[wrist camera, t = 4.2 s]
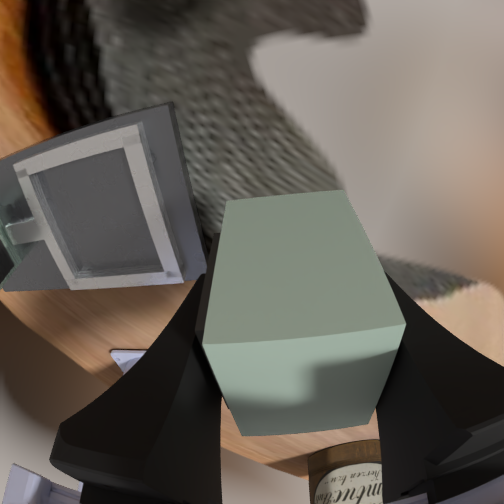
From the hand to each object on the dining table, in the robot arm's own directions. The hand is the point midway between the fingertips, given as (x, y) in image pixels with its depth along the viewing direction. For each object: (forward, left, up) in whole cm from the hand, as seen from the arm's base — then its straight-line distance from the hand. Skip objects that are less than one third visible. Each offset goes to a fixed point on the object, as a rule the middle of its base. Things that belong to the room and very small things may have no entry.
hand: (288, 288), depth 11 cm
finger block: (0, 0, -2) cm, 2 cm away
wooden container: (-50, -9, -9) cm, 52 cm away
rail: (0, +15, -8) cm, 17 cm away
